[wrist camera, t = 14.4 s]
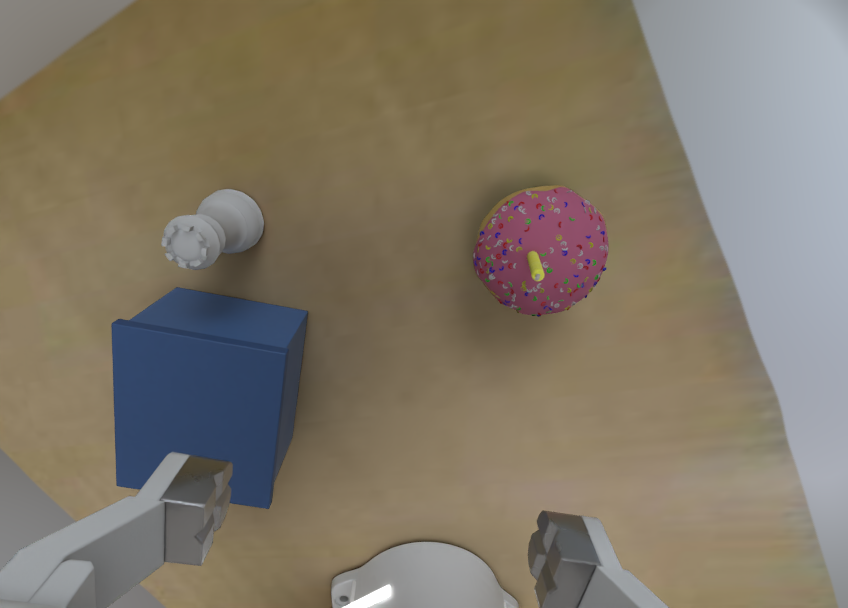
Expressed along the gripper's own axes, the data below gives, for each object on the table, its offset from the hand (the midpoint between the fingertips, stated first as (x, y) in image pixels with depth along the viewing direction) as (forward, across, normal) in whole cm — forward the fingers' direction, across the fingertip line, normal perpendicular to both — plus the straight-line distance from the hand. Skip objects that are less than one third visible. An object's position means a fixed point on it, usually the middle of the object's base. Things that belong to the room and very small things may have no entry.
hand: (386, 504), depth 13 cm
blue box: (+25, +12, +12) cm, 30 cm away
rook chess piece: (+25, +13, 0) cm, 28 cm away
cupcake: (+25, -8, -3) cm, 27 cm away
